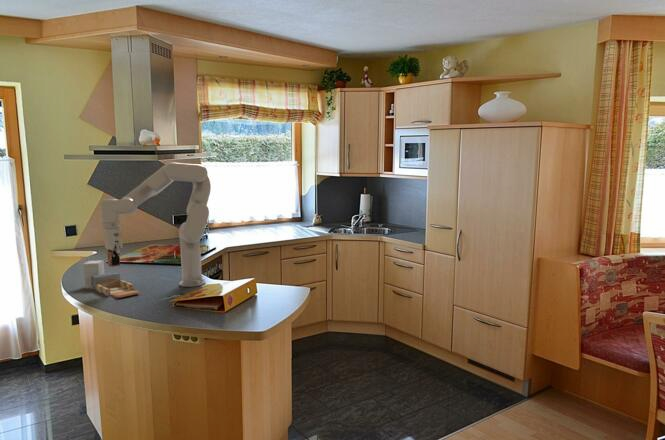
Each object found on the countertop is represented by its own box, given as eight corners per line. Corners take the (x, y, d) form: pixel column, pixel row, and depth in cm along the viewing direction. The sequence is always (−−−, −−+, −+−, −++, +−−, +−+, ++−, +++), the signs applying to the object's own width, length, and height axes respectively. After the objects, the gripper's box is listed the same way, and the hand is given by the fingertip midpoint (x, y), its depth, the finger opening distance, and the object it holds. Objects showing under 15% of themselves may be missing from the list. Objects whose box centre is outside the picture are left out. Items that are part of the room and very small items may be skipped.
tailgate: (132, 292, 236) (140, 293, 230) (111, 296, 229) (118, 297, 223) (131, 290, 236) (139, 291, 230) (110, 294, 229) (118, 295, 223)
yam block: (120, 265, 235) (119, 250, 234) (111, 266, 232) (110, 252, 232) (116, 264, 238) (115, 249, 237) (108, 265, 235) (107, 250, 234)
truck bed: (134, 292, 237) (133, 278, 236) (108, 298, 229) (107, 283, 228) (116, 285, 252) (115, 271, 251) (91, 290, 243) (90, 276, 242)
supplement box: (106, 284, 254) (104, 260, 253) (99, 288, 247) (97, 263, 245) (91, 284, 254) (89, 260, 252) (84, 288, 247) (82, 263, 245)
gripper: (126, 226, 230) (129, 265, 232) (112, 223, 241) (114, 260, 244) (110, 228, 224) (112, 268, 227) (96, 224, 236) (98, 262, 238)
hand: (113, 263), depth 235 cm, fingers closed on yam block, 4 cm apart
